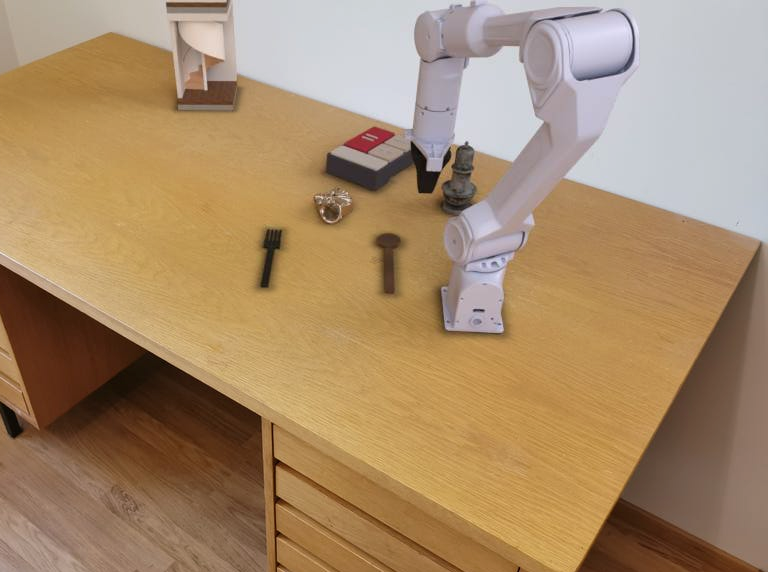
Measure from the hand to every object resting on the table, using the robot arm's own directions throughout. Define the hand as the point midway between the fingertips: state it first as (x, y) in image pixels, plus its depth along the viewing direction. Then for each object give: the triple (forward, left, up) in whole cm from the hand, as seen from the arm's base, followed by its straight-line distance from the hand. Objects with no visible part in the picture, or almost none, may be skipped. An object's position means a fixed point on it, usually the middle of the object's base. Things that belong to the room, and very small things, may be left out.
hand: (425, 191), depth 110 cm
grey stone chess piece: (+13, -7, -11) cm, 18 cm away
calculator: (+26, +7, -11) cm, 29 cm away
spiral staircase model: (+52, +42, -11) cm, 68 cm away
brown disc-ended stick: (-4, +5, -10) cm, 12 cm away
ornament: (+10, +14, -11) cm, 20 cm away
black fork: (-4, +23, -10) cm, 26 cm away
